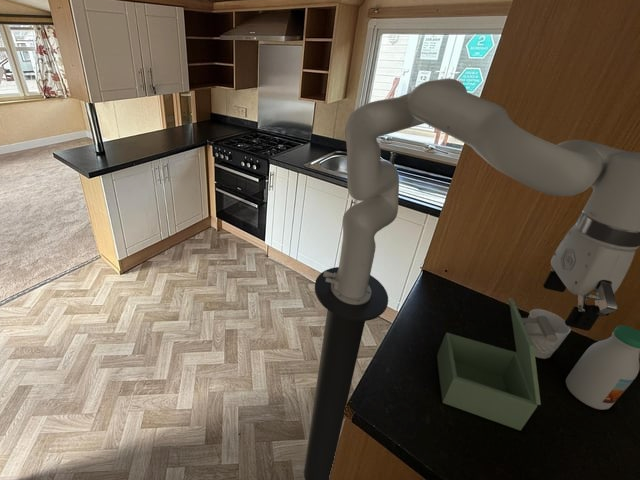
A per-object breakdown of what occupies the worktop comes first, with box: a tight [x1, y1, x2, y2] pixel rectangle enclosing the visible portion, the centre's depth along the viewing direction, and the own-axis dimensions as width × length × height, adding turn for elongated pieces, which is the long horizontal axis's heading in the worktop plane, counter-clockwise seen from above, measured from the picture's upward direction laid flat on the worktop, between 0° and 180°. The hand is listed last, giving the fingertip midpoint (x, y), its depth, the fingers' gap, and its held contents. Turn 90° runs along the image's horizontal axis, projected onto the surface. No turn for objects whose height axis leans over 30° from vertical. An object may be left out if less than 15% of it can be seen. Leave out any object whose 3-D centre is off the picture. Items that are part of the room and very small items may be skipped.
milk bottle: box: [565, 324, 640, 411], centre depth 68 cm, size 8×8×20 cm
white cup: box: [524, 308, 572, 360], centre depth 81 cm, size 8×8×10 cm
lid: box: [508, 297, 558, 406], centre depth 63 cm, size 15×13×5 cm
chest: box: [436, 332, 538, 432], centre depth 71 cm, size 15×13×9 cm
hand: (563, 306), depth 58 cm, fingers open, 9 cm apart
